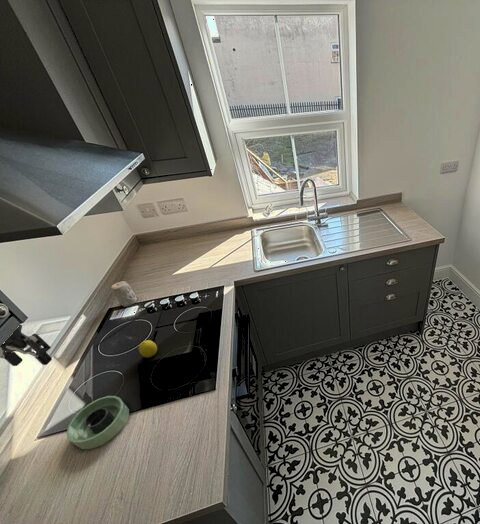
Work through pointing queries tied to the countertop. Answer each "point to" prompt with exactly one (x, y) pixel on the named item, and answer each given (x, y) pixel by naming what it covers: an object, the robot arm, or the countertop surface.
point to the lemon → (147, 348)
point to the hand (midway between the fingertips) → (33, 362)
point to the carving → (124, 293)
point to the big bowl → (89, 440)
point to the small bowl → (98, 420)
